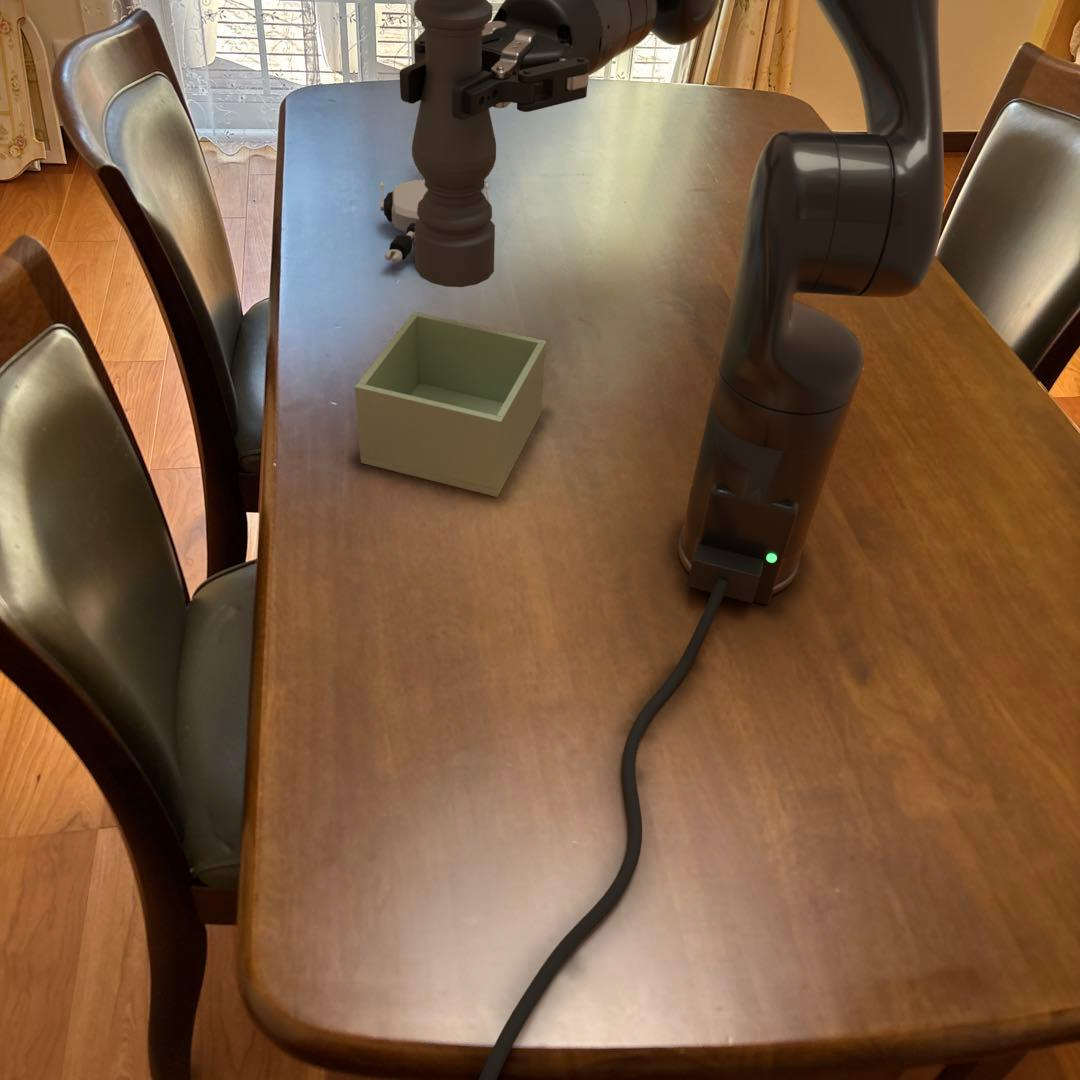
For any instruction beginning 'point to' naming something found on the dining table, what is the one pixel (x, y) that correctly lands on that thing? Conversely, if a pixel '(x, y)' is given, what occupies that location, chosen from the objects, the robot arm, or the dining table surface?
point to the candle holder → (453, 150)
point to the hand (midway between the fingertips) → (431, 95)
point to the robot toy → (404, 215)
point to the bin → (451, 402)
